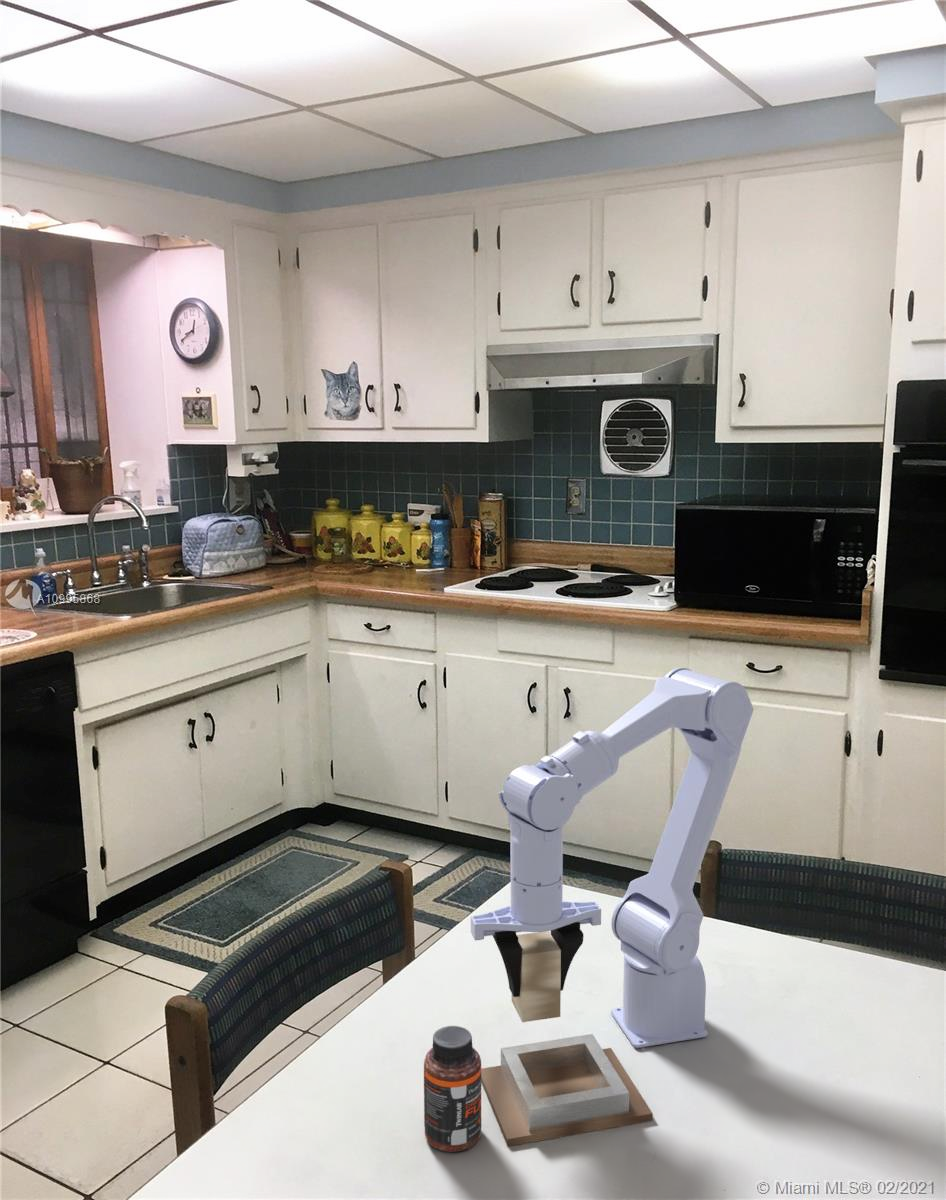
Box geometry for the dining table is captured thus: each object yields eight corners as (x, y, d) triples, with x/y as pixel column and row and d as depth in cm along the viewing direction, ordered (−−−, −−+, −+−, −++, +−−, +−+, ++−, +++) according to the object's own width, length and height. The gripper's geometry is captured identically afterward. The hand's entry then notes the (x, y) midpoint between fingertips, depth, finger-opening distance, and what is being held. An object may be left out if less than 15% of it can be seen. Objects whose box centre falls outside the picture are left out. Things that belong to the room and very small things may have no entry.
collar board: (610, 1054, 121) (611, 1028, 120) (652, 1120, 110) (653, 1092, 109) (478, 1075, 117) (478, 1048, 117) (507, 1146, 106) (507, 1117, 105)
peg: (548, 995, 119) (548, 931, 118) (560, 1016, 115) (560, 950, 113) (511, 1000, 118) (511, 935, 117) (522, 1022, 114) (522, 954, 112)
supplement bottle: (475, 1159, 104) (474, 1056, 102) (418, 1151, 105) (416, 1050, 103) (486, 1120, 110) (486, 1022, 108) (432, 1113, 111) (430, 1016, 109)
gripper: (586, 853, 119) (585, 962, 121) (464, 867, 116) (465, 979, 118) (608, 879, 112) (606, 994, 114) (478, 894, 109) (479, 1012, 111)
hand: (536, 989), depth 116 cm, fingers closed on peg, 4 cm apart
